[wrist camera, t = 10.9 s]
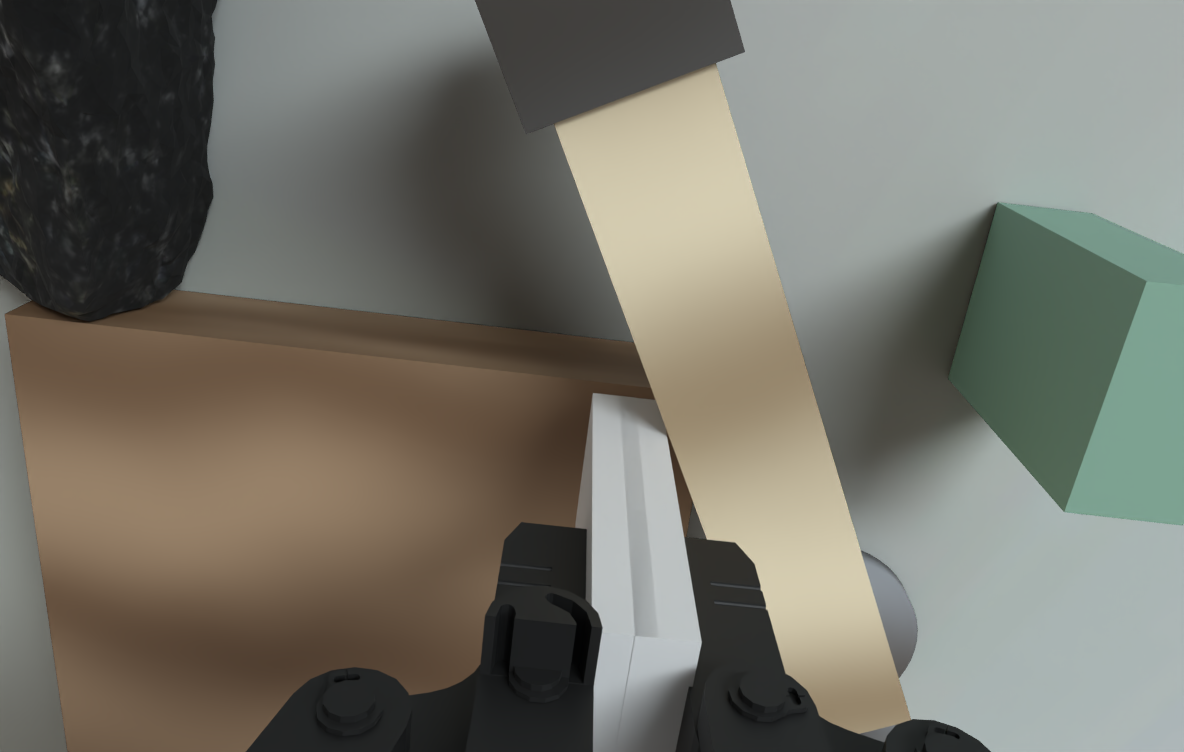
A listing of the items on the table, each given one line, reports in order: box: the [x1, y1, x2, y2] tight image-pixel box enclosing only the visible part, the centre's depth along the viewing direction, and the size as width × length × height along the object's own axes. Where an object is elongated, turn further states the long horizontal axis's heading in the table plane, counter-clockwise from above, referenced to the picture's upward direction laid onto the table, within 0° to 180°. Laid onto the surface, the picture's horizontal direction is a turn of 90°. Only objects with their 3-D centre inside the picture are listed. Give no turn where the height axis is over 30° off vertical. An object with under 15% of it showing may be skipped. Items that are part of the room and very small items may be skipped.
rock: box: [0, 0, 217, 321], centre depth 16 cm, size 7×10×6 cm
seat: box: [5, 290, 918, 752], centre depth 20 cm, size 14×20×7 cm
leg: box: [475, 0, 911, 734], centre depth 16 cm, size 15×3×3 cm, turn 20°
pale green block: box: [948, 202, 1184, 525], centre depth 17 cm, size 4×2×6 cm, turn 174°
